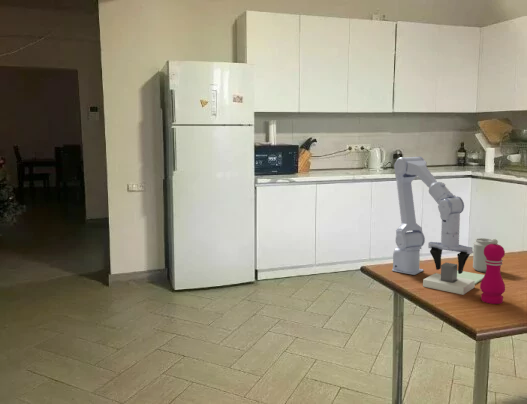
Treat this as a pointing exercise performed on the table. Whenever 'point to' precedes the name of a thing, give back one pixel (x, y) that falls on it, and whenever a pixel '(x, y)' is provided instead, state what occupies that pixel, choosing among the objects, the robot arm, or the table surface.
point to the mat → (470, 276)
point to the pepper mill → (493, 274)
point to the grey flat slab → (449, 284)
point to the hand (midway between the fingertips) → (449, 271)
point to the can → (480, 254)
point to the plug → (449, 272)
